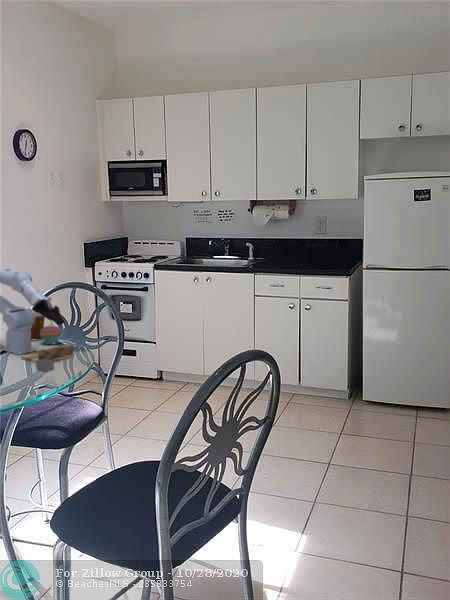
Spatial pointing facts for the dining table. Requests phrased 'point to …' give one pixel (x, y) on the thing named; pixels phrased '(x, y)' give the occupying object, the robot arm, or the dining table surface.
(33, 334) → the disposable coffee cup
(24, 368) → the dining table surface
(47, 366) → the stop block
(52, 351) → the hinged leg
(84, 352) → the dining table surface
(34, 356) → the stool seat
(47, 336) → the cupcake
